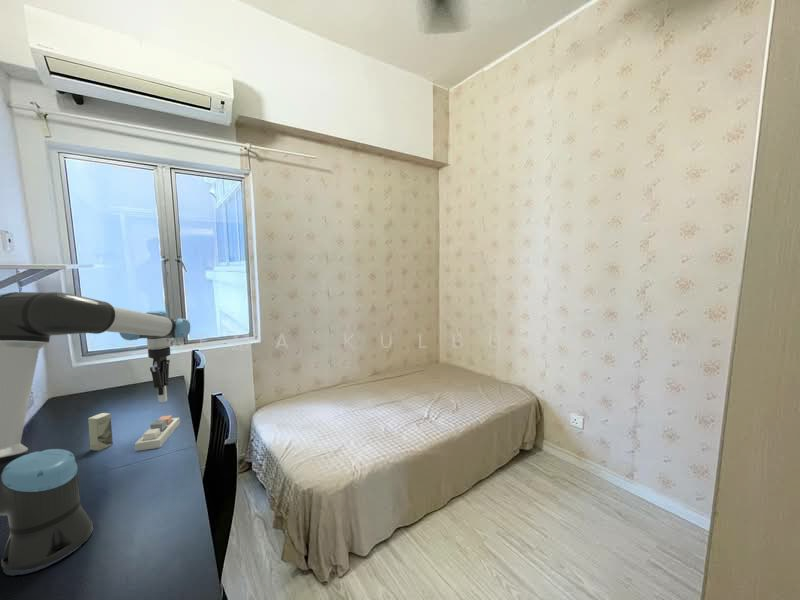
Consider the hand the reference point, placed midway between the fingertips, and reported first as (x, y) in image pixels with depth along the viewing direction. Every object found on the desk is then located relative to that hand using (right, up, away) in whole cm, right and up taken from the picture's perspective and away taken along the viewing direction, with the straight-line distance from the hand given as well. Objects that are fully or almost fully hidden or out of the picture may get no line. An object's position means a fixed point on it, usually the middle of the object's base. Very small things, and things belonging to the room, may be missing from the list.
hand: (162, 401), depth 136 cm
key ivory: (+3, -12, -10) cm, 16 cm away
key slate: (+2, -10, -5) cm, 11 cm away
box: (-15, -14, -12) cm, 24 cm away
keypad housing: (+2, -13, -4) cm, 14 cm away
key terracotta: (0, -11, +1) cm, 11 cm away
